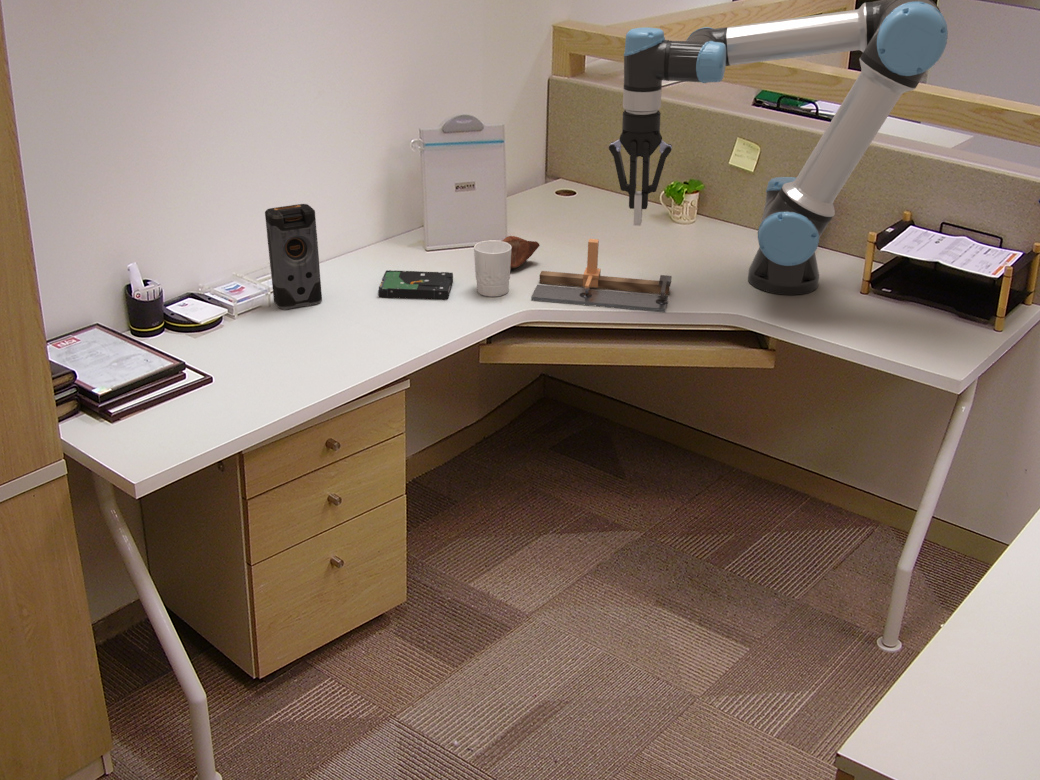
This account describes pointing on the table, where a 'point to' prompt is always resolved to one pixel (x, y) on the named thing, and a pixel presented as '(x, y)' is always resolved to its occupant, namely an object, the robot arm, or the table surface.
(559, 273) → the beam
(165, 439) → the table surface
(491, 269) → the white cup
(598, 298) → the metal board
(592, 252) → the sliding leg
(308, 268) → the electronic device
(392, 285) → the disk drive
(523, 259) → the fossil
